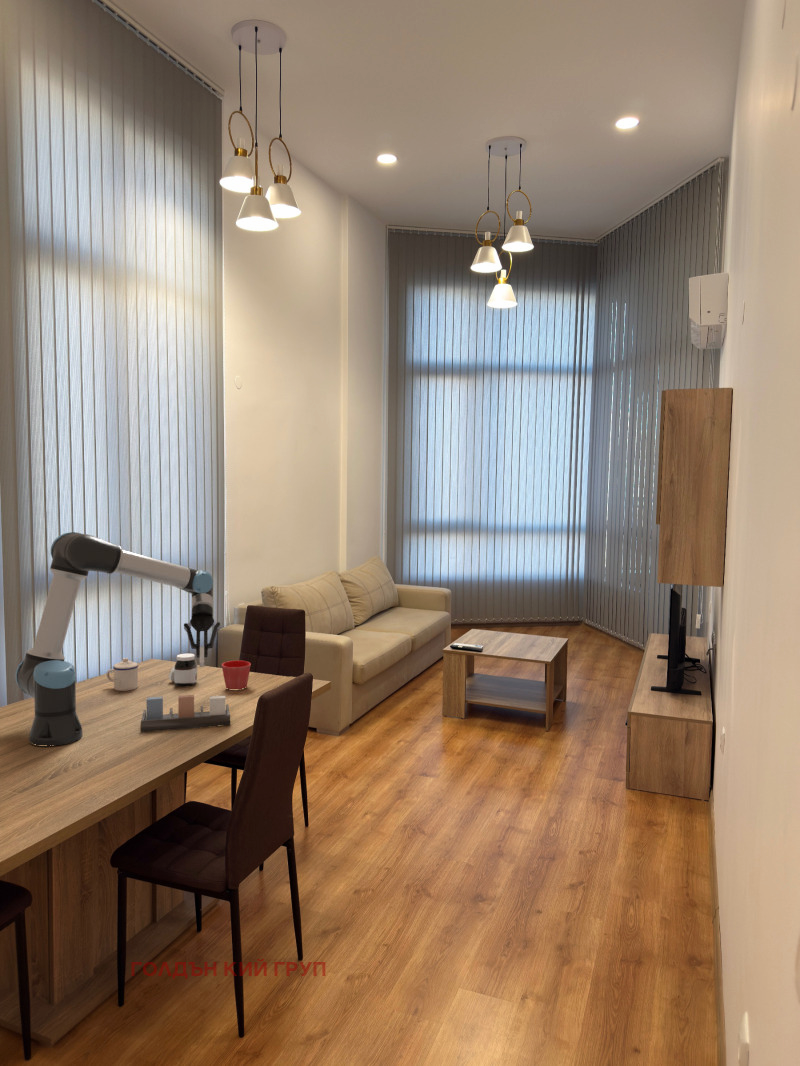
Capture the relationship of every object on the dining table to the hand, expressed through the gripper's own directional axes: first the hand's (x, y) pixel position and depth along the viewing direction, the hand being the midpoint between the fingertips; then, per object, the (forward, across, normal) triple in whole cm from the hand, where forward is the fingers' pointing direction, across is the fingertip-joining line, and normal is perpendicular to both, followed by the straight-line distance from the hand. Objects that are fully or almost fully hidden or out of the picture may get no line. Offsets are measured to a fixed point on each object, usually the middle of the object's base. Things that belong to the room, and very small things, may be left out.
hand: (201, 664), depth 260 cm
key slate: (+18, +15, -4) cm, 23 cm away
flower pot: (-8, -13, -32) cm, 36 cm away
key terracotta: (+18, +5, -4) cm, 19 cm away
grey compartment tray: (+19, +5, -5) cm, 20 cm away
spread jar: (-16, +8, -40) cm, 44 cm away
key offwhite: (+20, -5, -1) cm, 21 cm away
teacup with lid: (-14, +30, -39) cm, 52 cm away
